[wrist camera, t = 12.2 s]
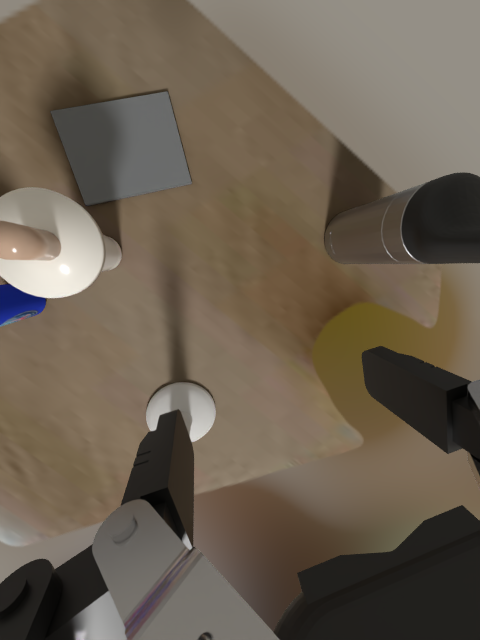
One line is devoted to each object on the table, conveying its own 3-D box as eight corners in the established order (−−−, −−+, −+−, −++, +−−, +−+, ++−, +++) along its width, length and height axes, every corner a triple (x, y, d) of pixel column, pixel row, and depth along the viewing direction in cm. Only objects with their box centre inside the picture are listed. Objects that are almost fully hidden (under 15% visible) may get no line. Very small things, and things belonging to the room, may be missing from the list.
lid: (82, 180, 23) (45, 153, 18) (120, 282, 26) (98, 288, 20) (-31, 203, 22) (-110, 182, 17) (20, 307, 25) (-33, 321, 19)
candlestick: (133, 402, 45) (19, 653, 16) (196, 370, 45) (197, 554, 17) (168, 453, 48) (127, 733, 19) (226, 422, 49) (270, 648, 20)
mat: (168, 94, 35) (167, 91, 35) (191, 183, 38) (191, 182, 38) (52, 113, 34) (50, 111, 33) (87, 206, 37) (85, 205, 36)
